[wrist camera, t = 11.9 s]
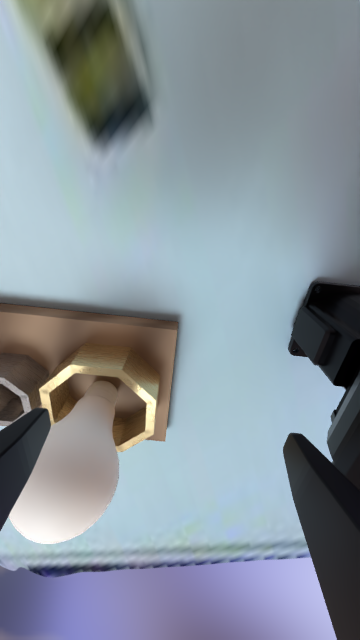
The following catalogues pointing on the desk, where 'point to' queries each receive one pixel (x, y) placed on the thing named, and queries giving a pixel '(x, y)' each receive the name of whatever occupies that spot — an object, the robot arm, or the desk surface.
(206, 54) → the desk surface
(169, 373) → the walnut board
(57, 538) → the lightbulb
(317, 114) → the desk surface
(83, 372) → the brass collar
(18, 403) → the grey small collar
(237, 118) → the desk surface
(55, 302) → the desk surface
